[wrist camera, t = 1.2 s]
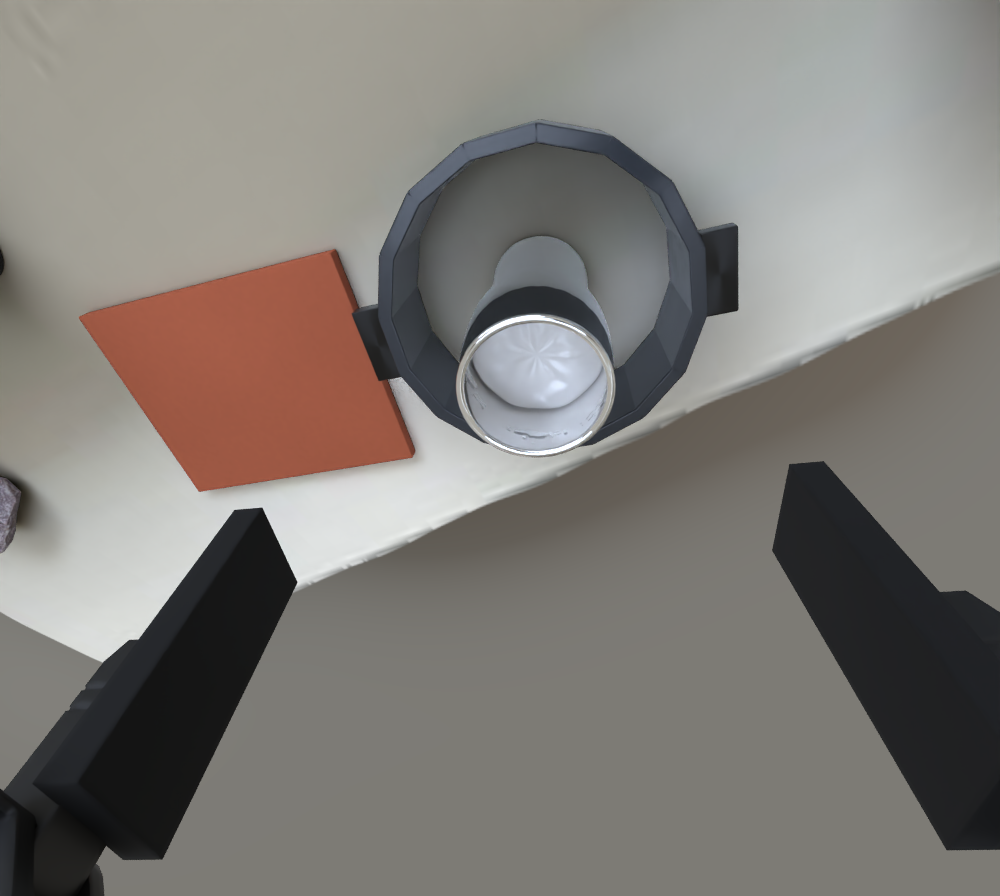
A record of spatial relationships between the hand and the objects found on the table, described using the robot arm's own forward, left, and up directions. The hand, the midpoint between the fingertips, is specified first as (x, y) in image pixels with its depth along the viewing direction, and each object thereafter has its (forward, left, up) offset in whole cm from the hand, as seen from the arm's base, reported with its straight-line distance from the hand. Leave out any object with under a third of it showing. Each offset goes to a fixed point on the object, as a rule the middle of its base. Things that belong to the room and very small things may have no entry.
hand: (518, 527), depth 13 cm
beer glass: (0, +1, -24) cm, 24 cm away
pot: (0, 0, -24) cm, 24 cm away
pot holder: (+23, +3, -24) cm, 33 cm away
